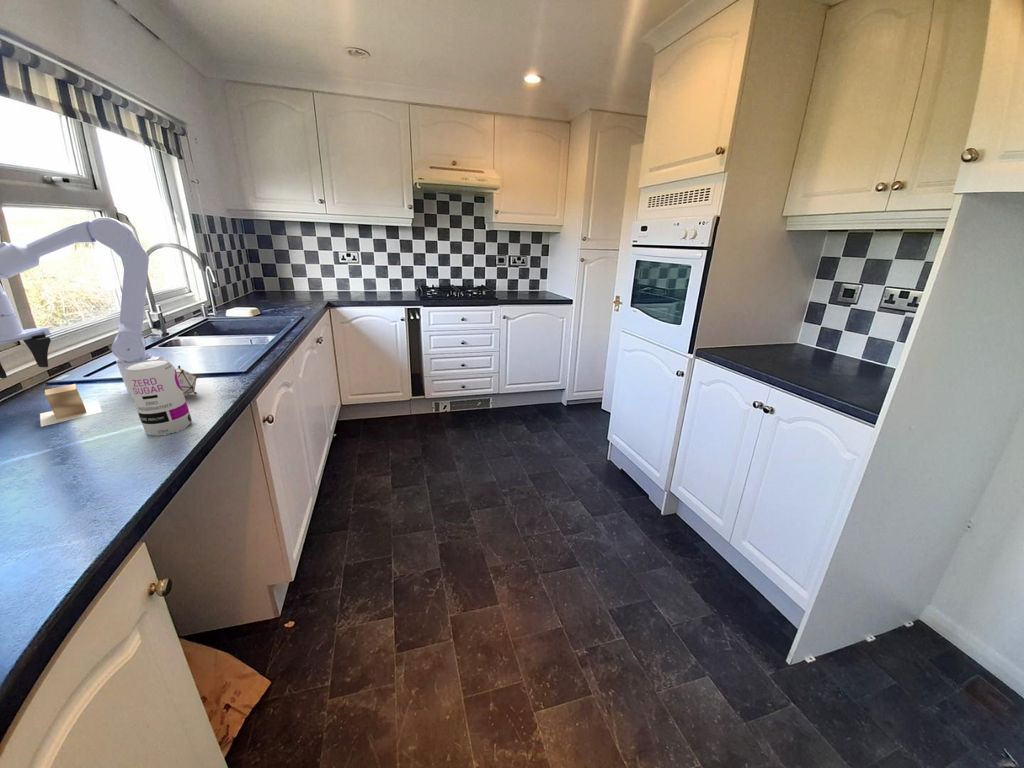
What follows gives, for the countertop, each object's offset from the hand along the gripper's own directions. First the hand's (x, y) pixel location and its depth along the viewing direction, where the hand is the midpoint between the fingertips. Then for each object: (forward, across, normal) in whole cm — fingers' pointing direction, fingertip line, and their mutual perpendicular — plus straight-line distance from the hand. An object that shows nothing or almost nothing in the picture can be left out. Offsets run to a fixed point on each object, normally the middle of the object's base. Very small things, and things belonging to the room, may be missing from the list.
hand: (23, 372), depth 97 cm
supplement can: (+10, +2, +42) cm, 43 cm away
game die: (+10, -13, +28) cm, 32 cm away
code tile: (+10, +1, +12) cm, 15 cm away
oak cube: (+9, +1, +12) cm, 15 cm away
